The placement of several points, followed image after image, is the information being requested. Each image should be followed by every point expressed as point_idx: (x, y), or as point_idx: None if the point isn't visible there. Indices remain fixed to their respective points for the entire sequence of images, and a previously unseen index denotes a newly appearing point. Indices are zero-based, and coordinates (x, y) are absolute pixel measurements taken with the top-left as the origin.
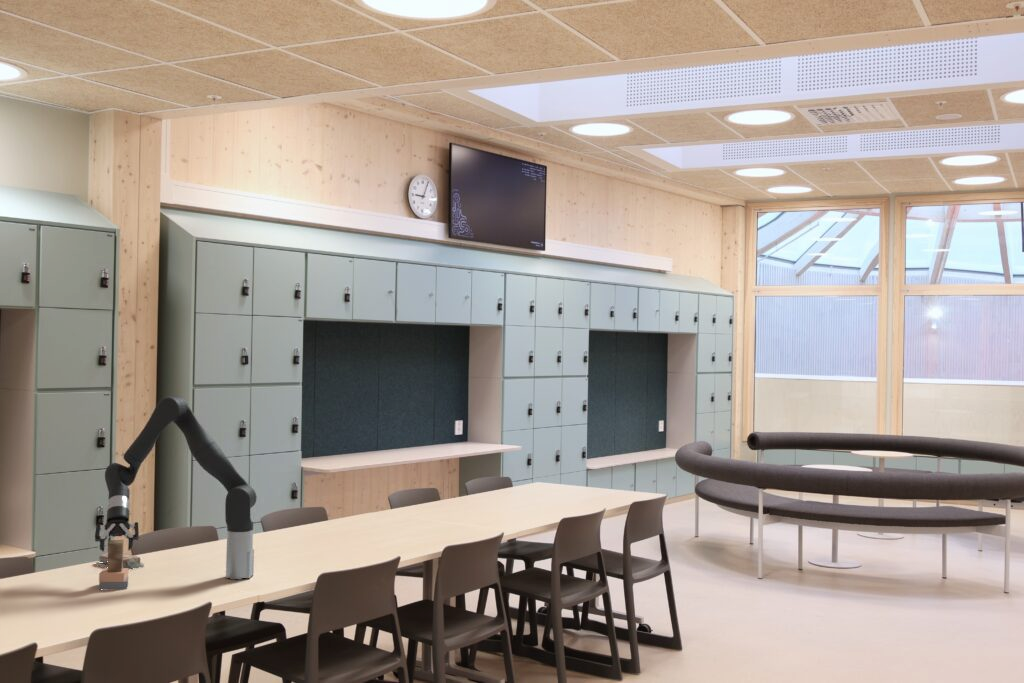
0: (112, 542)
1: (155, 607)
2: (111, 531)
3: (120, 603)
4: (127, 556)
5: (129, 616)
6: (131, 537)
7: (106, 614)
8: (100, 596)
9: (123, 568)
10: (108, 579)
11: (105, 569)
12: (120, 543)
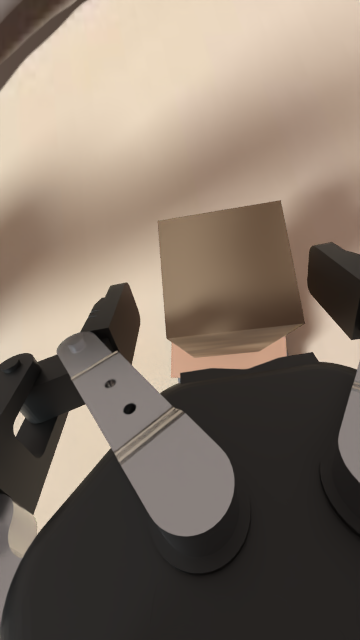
0: (250, 239)
1: (65, 93)
2: (343, 371)
3: (158, 125)
4: None
5: (116, 21)
6: (79, 333)
7: (173, 30)
8: (236, 199)
9: (193, 370)
10: None
11: (276, 354)
12: (172, 220)
